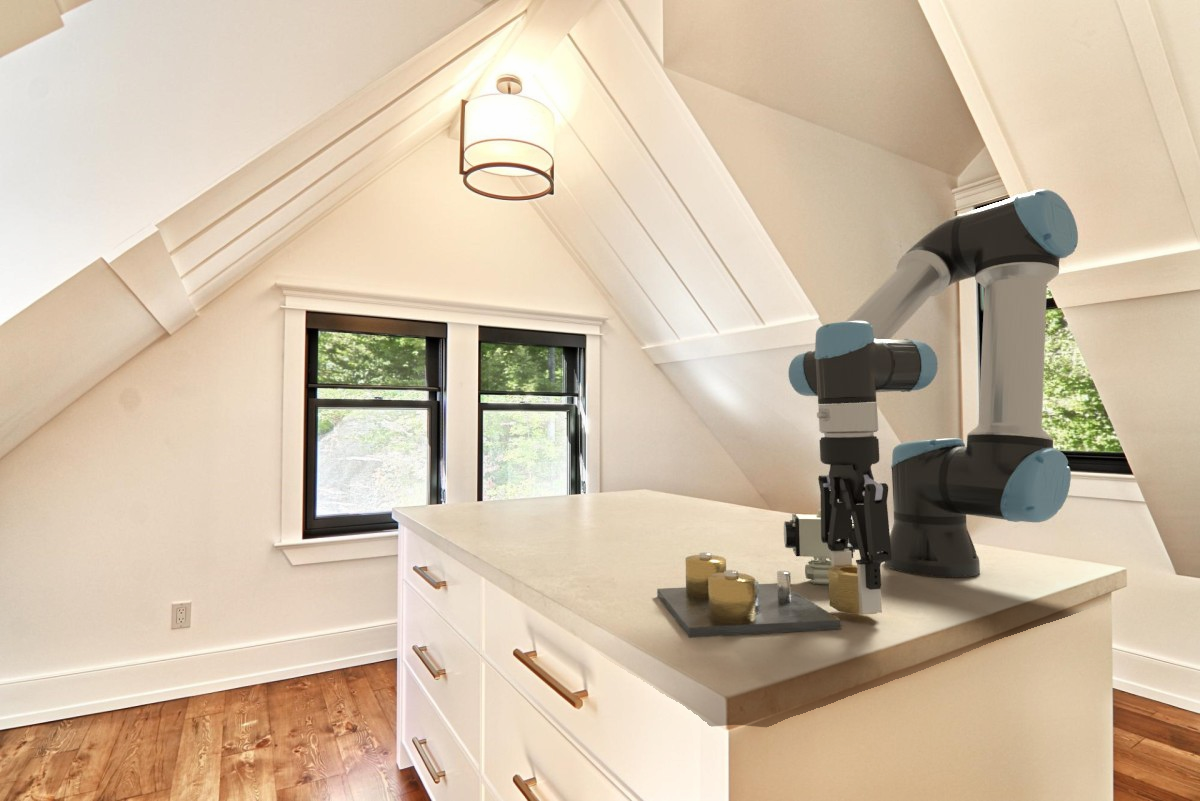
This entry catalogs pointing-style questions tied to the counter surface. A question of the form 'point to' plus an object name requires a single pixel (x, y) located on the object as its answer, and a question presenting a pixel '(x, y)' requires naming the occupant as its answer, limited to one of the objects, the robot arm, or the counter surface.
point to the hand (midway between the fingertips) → (856, 604)
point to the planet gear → (844, 588)
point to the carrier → (739, 603)
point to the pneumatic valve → (813, 545)
